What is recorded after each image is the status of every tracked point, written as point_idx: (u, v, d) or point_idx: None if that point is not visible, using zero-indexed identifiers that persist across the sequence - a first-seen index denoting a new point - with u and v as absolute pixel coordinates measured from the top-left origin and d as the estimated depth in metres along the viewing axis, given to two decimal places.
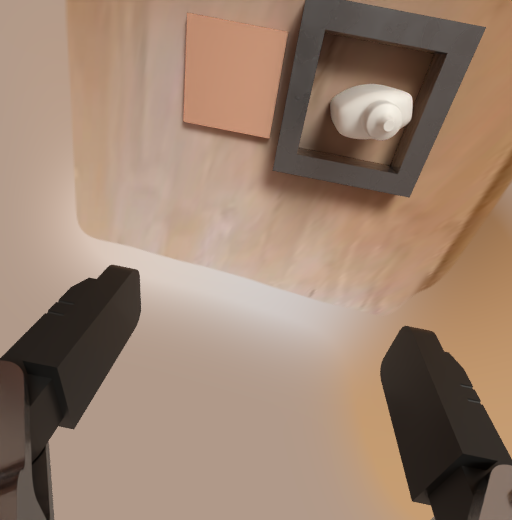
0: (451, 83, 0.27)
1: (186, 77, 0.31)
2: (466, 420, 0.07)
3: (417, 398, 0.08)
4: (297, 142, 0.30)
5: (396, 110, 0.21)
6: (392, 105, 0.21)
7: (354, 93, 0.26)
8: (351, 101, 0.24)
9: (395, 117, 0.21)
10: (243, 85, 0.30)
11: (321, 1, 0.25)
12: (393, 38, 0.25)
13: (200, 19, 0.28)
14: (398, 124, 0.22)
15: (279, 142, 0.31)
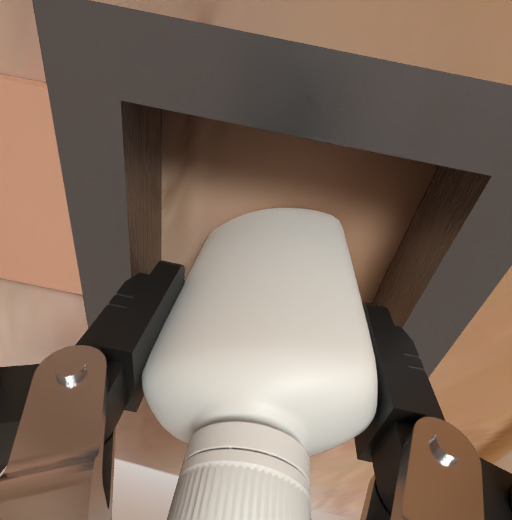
0: (496, 248, 0.09)
1: None
2: (403, 381, 0.07)
3: None
4: None
5: None
6: None
7: (213, 288, 0.09)
8: (168, 362, 0.07)
9: None
10: (4, 203, 0.13)
11: (84, 17, 0.08)
12: (326, 131, 0.08)
13: None
14: None
15: None
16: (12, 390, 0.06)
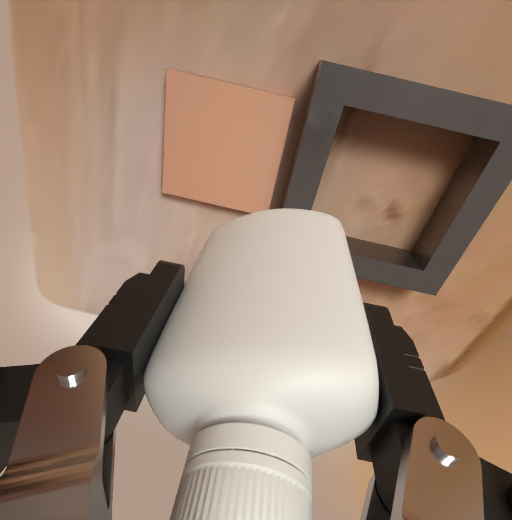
0: (501, 176, 0.21)
1: (165, 143, 0.24)
2: (402, 381, 0.07)
3: None
4: None
5: None
6: None
7: (214, 289, 0.09)
8: (170, 363, 0.07)
9: None
10: (236, 157, 0.24)
11: (341, 71, 0.19)
12: (432, 120, 0.20)
13: (184, 78, 0.22)
14: None
15: None
16: (12, 390, 0.06)
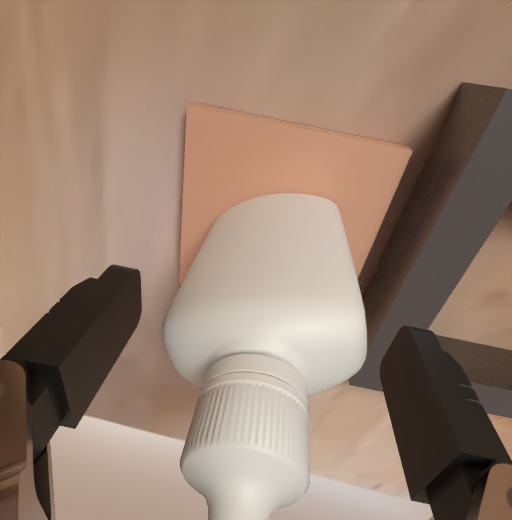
0: None
1: (184, 219, 0.15)
2: (465, 419, 0.07)
3: (416, 397, 0.08)
4: None
5: (277, 469, 0.05)
6: (259, 454, 0.05)
7: (223, 257, 0.10)
8: (186, 313, 0.08)
9: (273, 491, 0.05)
10: None
11: None
12: None
13: (217, 118, 0.13)
14: (293, 497, 0.06)
15: (370, 350, 0.15)
16: None
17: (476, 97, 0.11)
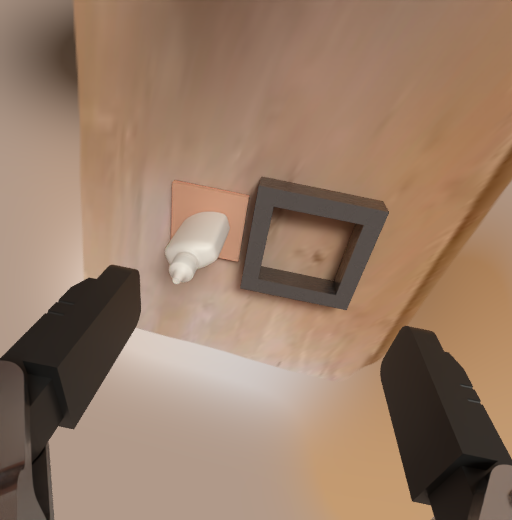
0: (368, 242, 0.36)
1: (172, 220, 0.39)
2: (466, 420, 0.07)
3: (417, 398, 0.08)
4: (258, 271, 0.39)
5: (185, 266, 0.30)
6: (182, 263, 0.30)
7: (182, 232, 0.34)
8: (170, 245, 0.33)
9: (185, 271, 0.30)
10: None
11: (269, 190, 0.34)
12: (323, 214, 0.34)
13: (182, 186, 0.37)
14: (190, 274, 0.30)
15: (244, 271, 0.40)
16: None
17: None
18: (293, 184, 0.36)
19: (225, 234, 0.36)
